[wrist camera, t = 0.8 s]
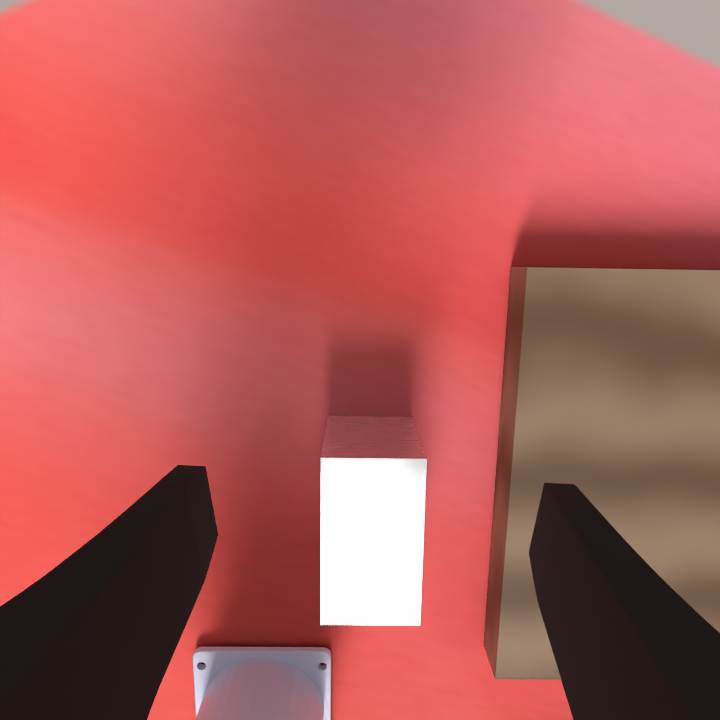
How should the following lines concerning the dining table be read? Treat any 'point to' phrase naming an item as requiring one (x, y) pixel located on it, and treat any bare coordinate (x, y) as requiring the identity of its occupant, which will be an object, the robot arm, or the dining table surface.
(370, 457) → the aluminium block
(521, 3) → the dining table surface
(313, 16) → the dining table surface
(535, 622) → the walnut plinth
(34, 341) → the dining table surface
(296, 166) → the dining table surface
